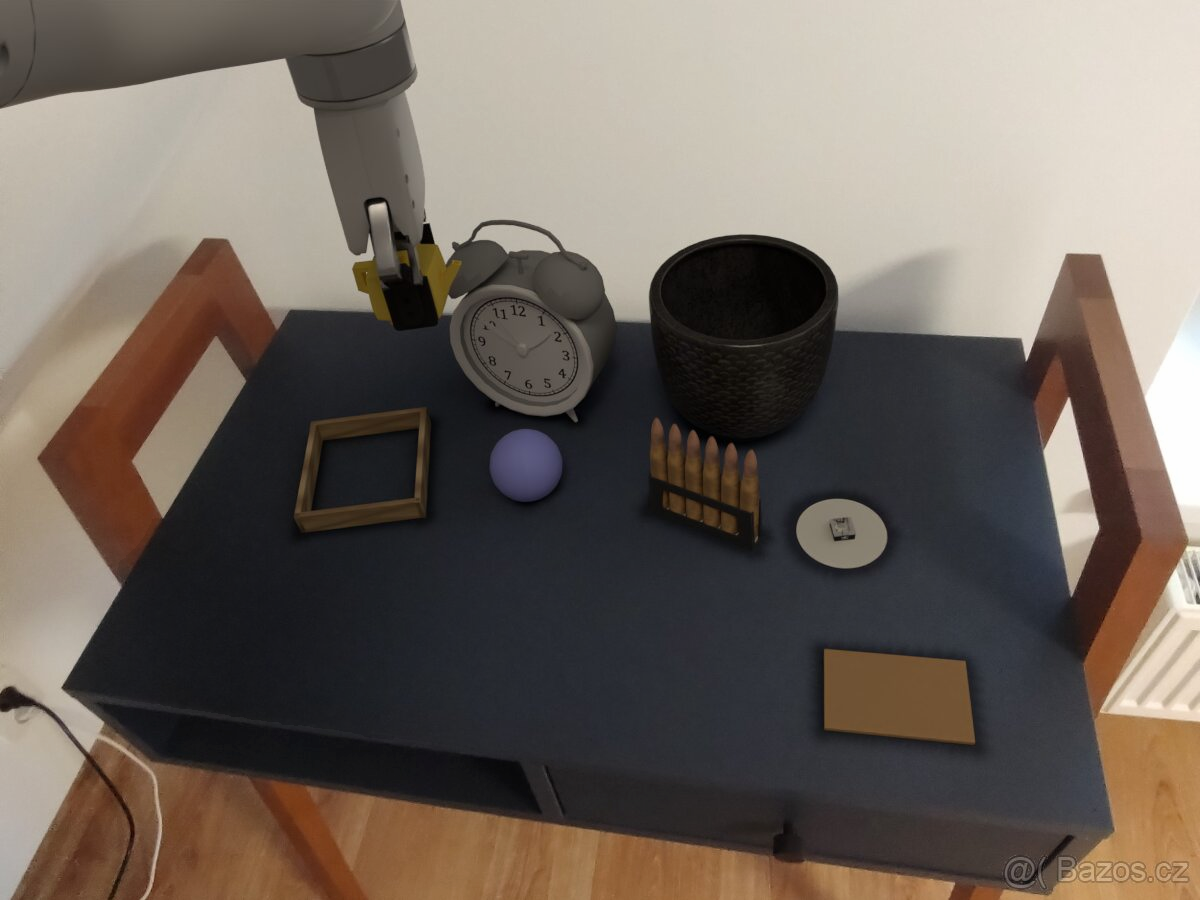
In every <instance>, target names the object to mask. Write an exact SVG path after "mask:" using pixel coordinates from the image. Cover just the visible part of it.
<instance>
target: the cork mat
mask: <svg viewBox="0 0 1200 900" xmlns="http://www.w3.org/2000/svg"><path fill="white" fill-rule="evenodd" d="M967 669H968V668H967V662H966V660H961V659H960V660H958V659H949V658H948V659H947V658H936V657H925V656H914V655H913V656H911V655H901V654H889V653H879V652H878V653H877V652H868V651H867V652H866V651H865V652H864V651H853V650H841V649H832V648H831V649H830V648H823V731H829V732H839V733H851V734H860V735H870V736H881V737H888V738H889V737H890V738H900V739H901V738H902V739H911V740H921V741H930V742H941V743H949V744H960V745H970V746H974V745H975V744H976V739H975V738H976V736H975V729H974V721H973V720H974V718H973V712H972V711H973V710H972V703H971V696H970V695H971V694H970V687H969V678H968V670H967Z"/></svg>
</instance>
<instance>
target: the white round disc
mask: <svg viewBox="0 0 1200 900" xmlns="http://www.w3.org/2000/svg"><path fill="white" fill-rule="evenodd" d="M795 530H796V537H797V541H798V543H799V545H800V546H801V548H802V549H803V551H804V552H805V553H806V554H807V555H808V556H809V557H810V558H812V559H813V560H815V561H816V562H818V563H820V564H822V565H826V566H829V567H832V568H837V569H855V568H860V567H863V566H867V565H868V564H871V563H872V562H874V561H875V560H876V559H878V558H879V557H880V556H881V555H882V553H883V552H884V550H885V548H886V546H887V543H888V531H887V528H886V526H885V523H884V521H883V519H882V518H881V517H880V516H879V514H877V513H876V512H875V511H874V510H873V509H871V508H870V507H868V506H866V505H865V504H862V503H860V502H857V501H855V500H850V499H845V498H831V499H830V498H829V499H825V500H824V499H823V500H821V501H818V502H816V503H815V502H814V504H812V505H810V506H808V507H807V508H806V509H805V510H804V511H803V512H802V513H801V514H800V516H799V518H798V520H797V523H796V529H795Z"/></svg>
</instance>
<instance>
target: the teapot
mask: <svg viewBox="0 0 1200 900" xmlns="http://www.w3.org/2000/svg"><path fill="white" fill-rule="evenodd" d="M416 247H417V252H418V257H419V262H420V267H421V272H422V276H427V277H428V281H429V285H430V288H431V292H432V296H433V300H434V303H435V307H436V311H437V314H438V319H440V318H441V317H442V316H443V313H444V310H445V307H446V303H447V302H448V301H447V300H448V297H449V295H448V293H449V289H450V286H451V284H452V282H453V280H454V278H455V276H456V274H457V272H458V270H459V269H460V267H461V263H462V261H457V260H453V261H452V263H451V264H450V265H449V266H448V268H447V267H446V262H445V259H444V257H443V253H442V252H441V249H440V246H439V244H437V243H435V244H420V242H419V244H418V245H417V246H416ZM397 256H398V259H399V261H400V264H402V263H406V264H407V265H408V266H409V267H410V264H409V259H408V254H407V250H403V251H397ZM351 270H352V274H353V277H354V281H355V284H356V288H357V291H358V292H360V293H364V294H367V295H368V298H369V301H370V305H371V309H372V311H373V314H374V316H375V317H376V319H377V320H378V321H384V322H386V321H387V322H389V324H390V325H391V326H393V323H392V320H391V317H390V313H389V310H388V307H387V304H386V301H385V298H384V294H383V291H382V288H381V284H380V279H379V276H378V273H377V267H376V261H375V257H374V256H373V257H372V259H371V260H364V261H355V262H354V263H353V266H352V267H351Z"/></svg>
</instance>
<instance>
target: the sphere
mask: <svg viewBox="0 0 1200 900" xmlns="http://www.w3.org/2000/svg"><path fill="white" fill-rule="evenodd" d="M489 474H490V476H491V480H492V483H493V484H494V486H495V487H496V488H497V489H498V490H499V492H500V493H501V494H502V495H504V496H505V497H507V498H509V499H511V500H513V501H517V502H521V503H527V502H529V503H530V502H536V501H538V500H542V499H543V498H544V497H547V496H549V495H550V494H551V493H552V492H553V491H554V490H555V488H556V487H557V486H558V484H559V482H560V479H561V477H562V474H563V457H562V454H561V452H560V449H559V447H558V445H557V444H556V443H555V442H554V440H553V439H552V438H550V436H548V435H547V434H546V433H543V432H541V431H540V430H536V429H530V428H519V429H516V430H513V431H510V432H508V433H507V434H504V436H503V437H502V438H501V439H499V440H498V441H497V443H496V444H495V446H494V448H493V450H492V451H491V453H490V458H489Z"/></svg>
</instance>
